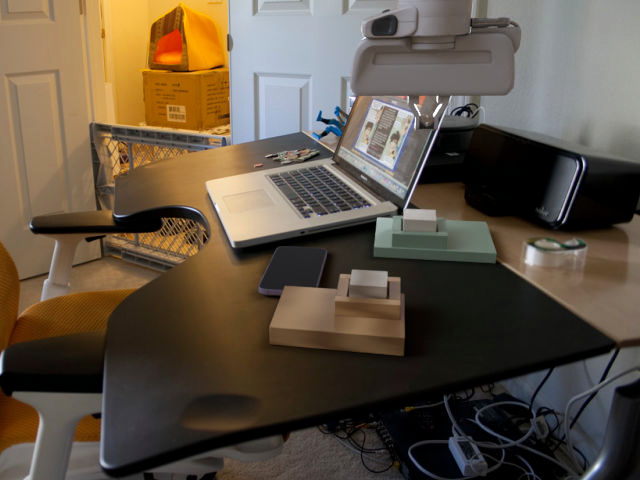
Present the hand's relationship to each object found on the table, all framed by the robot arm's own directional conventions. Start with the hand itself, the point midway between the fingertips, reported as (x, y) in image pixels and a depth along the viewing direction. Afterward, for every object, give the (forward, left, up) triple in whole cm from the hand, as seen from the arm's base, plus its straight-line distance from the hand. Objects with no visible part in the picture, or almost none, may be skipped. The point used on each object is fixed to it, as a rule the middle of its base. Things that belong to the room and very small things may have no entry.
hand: (426, 129), depth 84 cm
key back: (0, 0, -14) cm, 14 cm away
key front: (+6, +22, -14) cm, 26 cm away
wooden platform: (+9, +24, -17) cm, 31 cm away
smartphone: (+16, +11, -17) cm, 26 cm away
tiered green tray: (-2, -2, -17) cm, 17 cm away
